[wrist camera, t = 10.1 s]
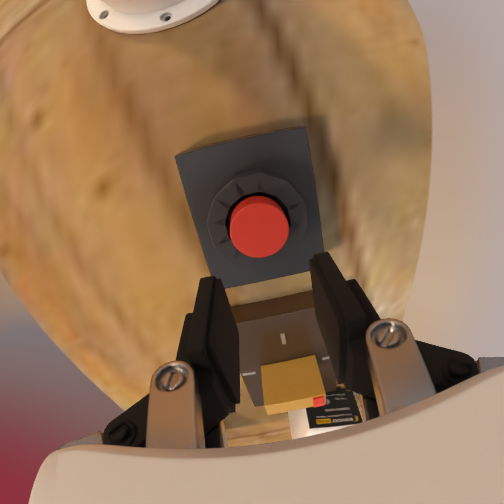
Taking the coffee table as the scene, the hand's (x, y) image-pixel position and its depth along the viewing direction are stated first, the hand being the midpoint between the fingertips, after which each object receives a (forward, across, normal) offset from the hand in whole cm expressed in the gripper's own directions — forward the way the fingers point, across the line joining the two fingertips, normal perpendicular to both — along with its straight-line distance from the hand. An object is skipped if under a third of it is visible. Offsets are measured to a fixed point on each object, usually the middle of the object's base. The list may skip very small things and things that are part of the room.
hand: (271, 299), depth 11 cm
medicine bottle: (+12, -3, +28) cm, 31 cm away
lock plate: (+12, 0, +16) cm, 20 cm away
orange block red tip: (+10, 0, +16) cm, 19 cm away
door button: (+9, 0, 0) cm, 9 cm away
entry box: (+12, 0, 0) cm, 12 cm away
